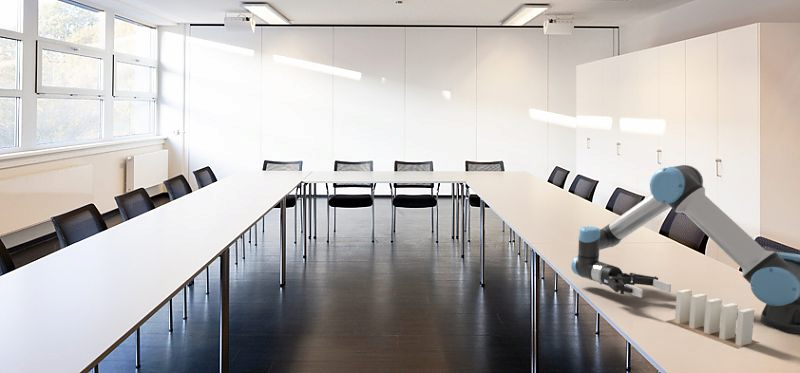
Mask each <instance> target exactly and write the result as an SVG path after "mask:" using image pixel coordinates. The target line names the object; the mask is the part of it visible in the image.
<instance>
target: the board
mask: <svg viewBox="0 0 800 373" xmlns="http://www.w3.org/2000/svg"><path fill="white" fill-rule="evenodd" d="M665 322H666V323H668V324H671V325H674V326H677V327H678V328H682V329H683V330H684V329H685V330H688V331H689V332H693V333H695V334H698V335H701V336H703V337H706V338H708V339H711V340H714V341H716V342H719V343H722V344H724V345H727V346H729V347H732V348H735V349H737V350H738V349H740V348H745V347H748V346H753V345H755V344H760V342H759V341H756V340H754V339H752V343H750V344H746V345H743V346H739V345H737V344H735V343H736V333H735V337H733V338H730V339H726V340H723V339H720V338H719V334H720V330H719V332H715V333H711V334H707V333H704V326H702V327H698V328H691V327H689V322H690V321H687V322H682V323H677V322H675V318H673V319H670V320H665Z"/></svg>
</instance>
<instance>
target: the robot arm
mask: <svg viewBox="0 0 800 373" xmlns="http://www.w3.org/2000/svg"><path fill="white" fill-rule="evenodd" d="M703 183H704V179H703V176H702V174H701V172H700V171H699V170H698V169H697V168H696V167H694V166H692V165H688V164H687V165H685V164H681V165H676V166H666V167H663V168H660V169H658V170H657V171H656V172H655V173H654V174H653V175H652V176H651V178H650V181H649V192H650V194H649V195H648V196H647V197H645V198H644V199H643V200H641V201H639V202H638V203H637V204H635V205H634V206H633V207H631V208H630V209H628V210H627V211H625V212H624V213H623V214H621V215H620V216H618V217H617V218H615V219H614V220H612V221H611V222H610V223H608V224H607V225H605V226H604V227H602V228H599V227H596V226H582V227H580V228H579V235H578V250H577V253H578V254H577V256H575V257H574V258H572V262H571V264H570V266H571V267H570V268H571V270H572V272H573V274H575V275H577V276H579V277H581V278H584V279H587V280H591V281H593V282H596V283H598V284H600V285H605V286H608V288H611V289H612V291H614V292H615V293H618V292H619V291H620V292H619V293H620V294H621V295H625V293H627V294H628V295H632V296H634V297H637V298H643V289H642V288H640V287H637V286H634V285H642V286H652V287H653V288H655V289H658V290H661V291H665V292H668V293H670V292H671V291H672V283H669V282H666V281H663V280H659V277H657V276H651V275H644V274H639V273H638V274H637V273H634V272H629V273H627V272H626V273H625V272H623V271H622V269H621V268H620V267H618V266H615V265H612V264H609V263H607V262H602V261H599V259H600V251H601V250H604V249H608V248H613V247H615V246H617V245H618V244H620V243H621V241H622V240H624V239H625V238H626V237H627V236H629V235H631V234H632V233H633V232H635V231H637V230H639V229H640V228H641V227H643V226H644V225H647V224H648V222H650V221H651V220H653V219H655V218H657V217H658V216H660V215H661V214H662V213H665V211H667V210H669V209H670V208H671V209H672V210H673V211H674V212H675V213H677V214H684V215H685V216H687V218H689V219H690V220H691V222H693V223H694V224H695V225H696V226H697V227H698V228H699V229H700V230H701V231H702V232H703V233H704V234H705V235H706V236H707V237H708V238H709V239H710V240H711V241H713V242H714V243H715V244H716V246H718V247H719V248H720V249H721V250H722V251H723V253H725V254H726V255H727V256H728V257H729V258H730V259H731V260H732V261H733V262H734V263H736V265H738V266H739V267H740V268H741V269H742V277H743V279H745V280H746V281H747V282H748V283H749V284H750V289H751V292H752V294H753V295H754V297H756V299H758V300H759V301H760V302H762V303H764V304H765V306H764V307H763V310H762V312H761V315H760V322H761V323H762V324H763V325H764V326H766V327H769V328H771V329H774V330H777V331H781V332H786V333H789V334H790V333H792V334H798V335H800V254H797V253H791V252H781V251H780V252H779V251H778V252H775V250H774V251H773V250H767V249H765V248H763V246H761V245H760V244H759V243H758V242H757V241H756V240H755V239H753V238H752V236H750V235H749V234H748V232H746V231H745V230H744V229H743V228H742V227H740V226H739V225H738V224H737V223H736V221H734V220H733V219H732V218H731V216H728V214H727V213H726V212H724V211H723V210H722V209H721V208H720V207H719V206H717V204H715V203H714V202H713V201H712V200H711V199H710V198H709V197H708V196H707V195H706V188H705V186H704V184H703Z"/></svg>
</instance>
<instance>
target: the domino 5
mask: <svg viewBox="0 0 800 373" xmlns="http://www.w3.org/2000/svg"><path fill="white" fill-rule="evenodd" d="M754 318H755V309H753V308H750V307H748V308H744V309H739V310H737V320H736V332H735V334H736V343H735V344H737V345H739V346H743V345H746V344H750V343H752V340H753V332H754Z"/></svg>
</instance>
